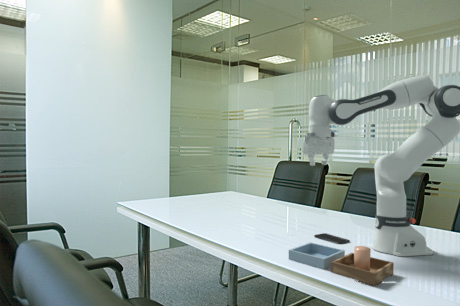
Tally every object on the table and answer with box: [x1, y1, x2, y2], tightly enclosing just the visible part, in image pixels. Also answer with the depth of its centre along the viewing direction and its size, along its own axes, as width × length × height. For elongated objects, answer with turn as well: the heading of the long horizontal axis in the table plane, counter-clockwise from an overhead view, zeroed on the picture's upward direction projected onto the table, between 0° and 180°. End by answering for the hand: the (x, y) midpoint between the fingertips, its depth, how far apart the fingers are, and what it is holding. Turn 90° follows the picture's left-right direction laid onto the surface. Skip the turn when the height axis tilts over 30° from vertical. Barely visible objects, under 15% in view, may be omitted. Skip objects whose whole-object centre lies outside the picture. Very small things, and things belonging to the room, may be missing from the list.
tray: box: [330, 252, 395, 287], centre depth 116 cm, size 15×15×4 cm
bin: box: [288, 242, 346, 270], centre depth 129 cm, size 15×15×4 cm
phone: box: [313, 233, 351, 245], centre depth 159 cm, size 8×1×15 cm
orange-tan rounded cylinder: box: [353, 245, 371, 271], centre depth 116 cm, size 5×5×8 cm
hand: (318, 165), depth 151 cm, fingers open, 8 cm apart
